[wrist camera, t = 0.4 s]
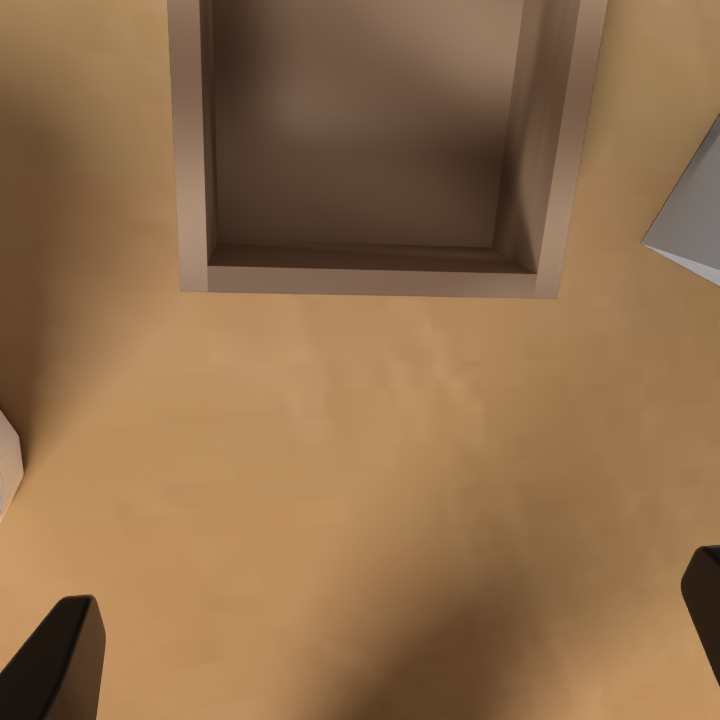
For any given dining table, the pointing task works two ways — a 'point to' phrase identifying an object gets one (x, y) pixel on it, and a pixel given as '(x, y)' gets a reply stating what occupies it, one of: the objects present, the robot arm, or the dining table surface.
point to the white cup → (9, 464)
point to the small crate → (693, 214)
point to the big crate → (379, 143)
